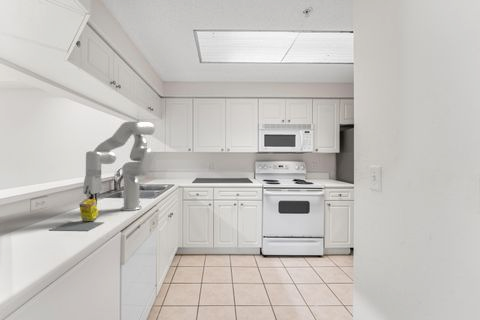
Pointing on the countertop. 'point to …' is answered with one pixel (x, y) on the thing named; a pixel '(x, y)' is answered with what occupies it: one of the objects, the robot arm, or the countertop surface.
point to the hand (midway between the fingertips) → (93, 205)
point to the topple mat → (77, 226)
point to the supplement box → (89, 210)
